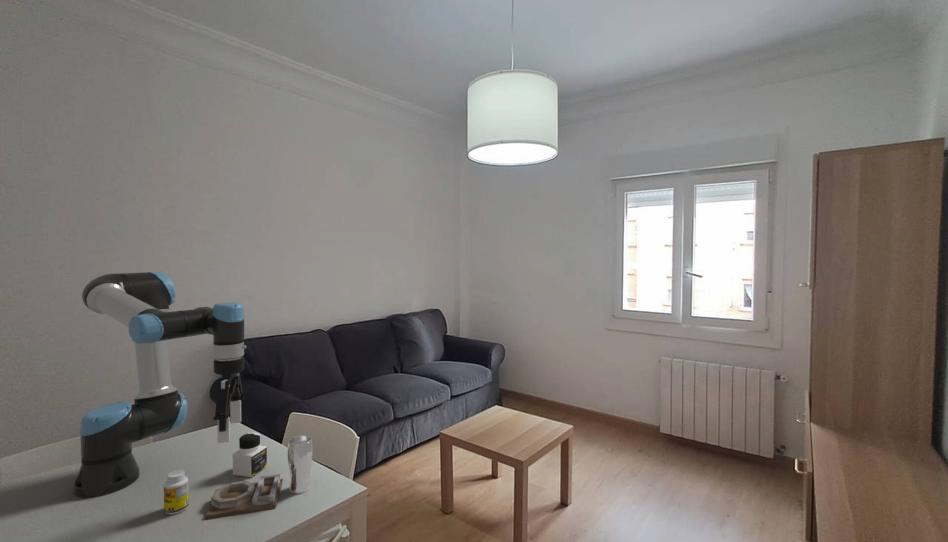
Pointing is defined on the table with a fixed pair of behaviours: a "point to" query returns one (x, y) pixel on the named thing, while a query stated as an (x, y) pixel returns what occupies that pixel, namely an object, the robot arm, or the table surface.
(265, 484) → the socket board
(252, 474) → the medicine bottle
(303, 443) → the beer glass
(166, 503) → the supplement bottle
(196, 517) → the table surface
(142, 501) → the table surface
